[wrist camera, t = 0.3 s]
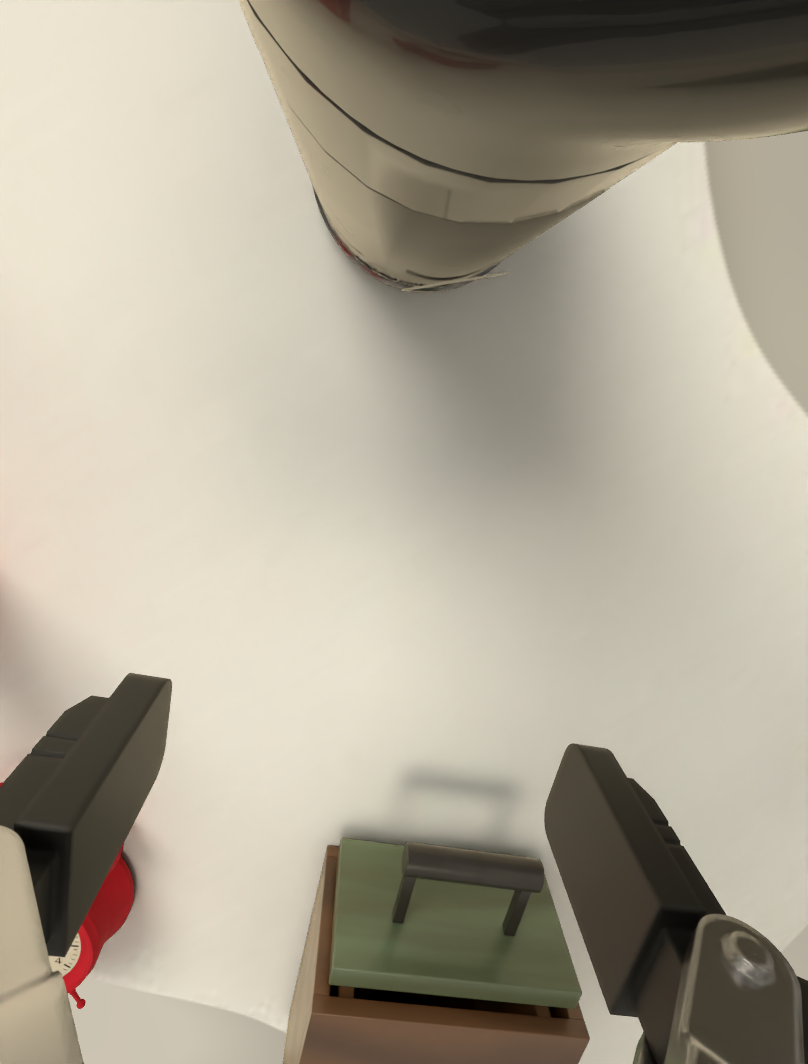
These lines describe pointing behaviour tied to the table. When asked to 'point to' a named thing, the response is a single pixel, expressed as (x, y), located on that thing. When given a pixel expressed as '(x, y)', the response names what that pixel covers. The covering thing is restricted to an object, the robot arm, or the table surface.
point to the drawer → (447, 930)
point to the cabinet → (409, 1018)
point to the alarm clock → (97, 927)
